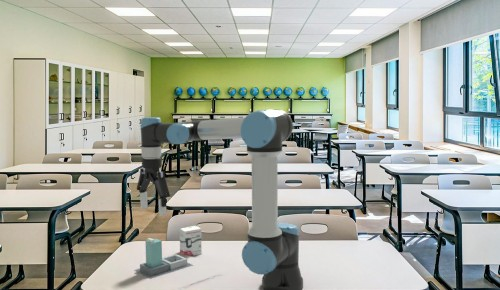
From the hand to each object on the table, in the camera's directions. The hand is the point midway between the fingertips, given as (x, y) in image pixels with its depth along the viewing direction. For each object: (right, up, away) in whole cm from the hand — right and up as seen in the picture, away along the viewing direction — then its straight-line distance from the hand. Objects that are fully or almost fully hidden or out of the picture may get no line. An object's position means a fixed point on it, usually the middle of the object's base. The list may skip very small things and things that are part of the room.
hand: (153, 211), depth 180 cm
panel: (+3, -24, +5) cm, 25 cm away
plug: (0, -23, +2) cm, 24 cm away
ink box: (+12, -22, +24) cm, 35 cm away
